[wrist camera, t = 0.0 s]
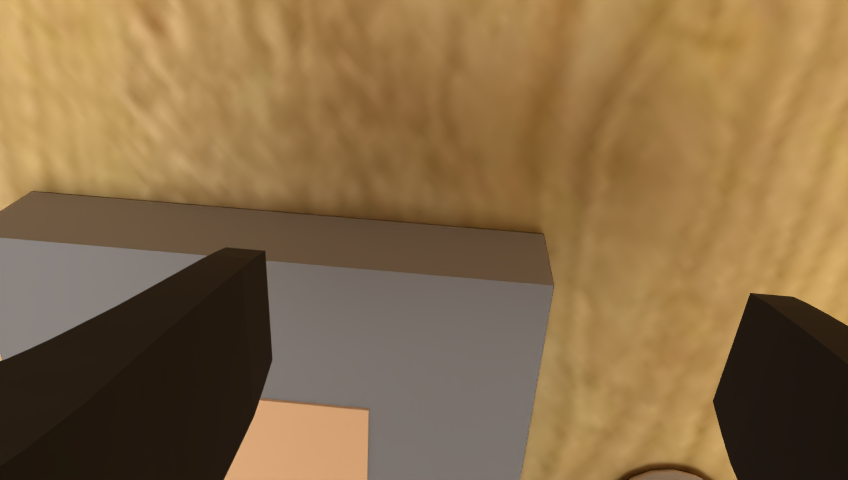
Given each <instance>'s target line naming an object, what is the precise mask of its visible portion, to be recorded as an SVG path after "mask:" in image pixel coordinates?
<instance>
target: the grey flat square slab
mask: <svg viewBox="0 0 848 480" xmlns="http://www.w3.org/2000/svg"><path fill="white" fill-rule="evenodd" d="M225 247H229V248H240V249H251V250H263V251H265V253H266V268H267V283H268V298H269V313H270V329H271V344H272V359H273V360H272V363H271V366H270V369H269V373H268V376H267V379H266V382H265V385H264V389H263V392H262V395H261V398H260V401H259V404H258V406H257V409H256V412H255V415H254V418H253V420H252V422H251V424H250V426H249V428H248V431H247V433H246V435H245V437H244V439H243V441H242V443H241V445H240V447H239V450H238V452H237V454H236V456H235V458H234V460H233V462H232V464H231V466H230V468H229V470H228V472H227V474H226V477H225V479H224V480H520V478H521V472H522V467H523V461H524V455H525V449H526V444H527V438H528V432H529V427H530V421H531V415H532V409H533V404H534V398H535V392H536V387H537V381H538V375H539V369H540V364H541V358H542V352H543V347H544V341H545V335H546V329H547V324H548V318H549V312H550V307H551V301H552V295H553V289H554V282H553V277H552V272H551V267H550V262H549V257H548V252H547V247H546V243H545V238H544V234H537V233H525V232H513V231H501V230H489V229H477V228H465V227H453V226H441V225H429V224H417V223H405V222H393V221H381V220H369V219H357V218H344V217H332V216H320V215H308V214H296V213H284V212H272V211H260V210H248V209H236V208H224V207H212V206H200V205H188V204H176V203H164V202H152V201H140V200H128V199H116V198H104V197H92V196H80V195H68V194H56V193H44V192H30V193H28V194H27V195H25V196H24V197H22V198H20V199H19V200H17V201H16V202H14V203H12V204H11V205H9V206H8V207H6V208H5V209H3V210H1V211H0V354H1V357H2V360H5V359H7V358H10V357H12V356H14V355H16V354H19V353H21V352H23V351H26V350H28V349H30V348H32V347H34V346H37V345H39V344H41V343H43V342H45V341H47V340H50V339H52V338H54V337H56V336H58V335H60V334H62V333H64V332H66V331H68V330H70V329H72V328H74V327H76V326H77V325H79V324H81V323H83V322H85V321H87V320H89V319H91V318H93V317H95V316H97V315H99V314H101V313H103V312H105V311H107V310H109V309H111V308H113V307H115V306H117V305H119V304H121V303H123V302H125V301H126V300H128V299H130V298H132V297H134V296H136V295H137V294H139V293H141V292H143V291H145V290H146V289H148V288H150V287H152V286H154V285H155V284H157V283H159V282H161V281H163V280H164V279H166V278H168V277H170V276H172V275H173V274H175V273H177V272H179V271H181V270H182V269H184V268H186V267H188V266H190V265H191V264H193V263H195V262H197V261H199V260H201V259H202V258H204V257H206V256H208V255H210V254H212V253H214V252H216V251H218V250H221V249H223V248H225Z"/></svg>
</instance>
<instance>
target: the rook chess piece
mask: <svg viewBox="0 0 848 480" xmlns="http://www.w3.org/2000/svg"><path fill="white" fill-rule="evenodd" d="M629 480H703V479H702V478H700V477H698V476H696V475H694V474H691V473H687V472H683V471H679V470H675V469H662V470H650V471H647V472H644V473H641V474H639V475H636V476H633V477H631V478H630V479H629Z"/></svg>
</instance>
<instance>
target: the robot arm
mask: <svg viewBox="0 0 848 480" xmlns="http://www.w3.org/2000/svg"><path fill="white" fill-rule="evenodd" d="M272 360H273V359H272V344H271V329H270V313H269V298H268V283H267V268H266V253H265V251H263V250H251V249H240V248H229V247H225V248H223V249H221V250H218V251H216V252H214V253H212V254H210V255H208V256H206V257H204V258H202V259H201V260H199V261H197V262H195V263H193V264H191V265H190V266H188V267H186V268H184V269H182V270H181V271H179V272H177V273H175V274H173V275H172V276H170V277H168V278H166V279H164V280H163V281H161V282H159V283H157V284H155V285H154V286H152V287H150V288H148V289H146V290H145V291H143V292H141V293H139V294H137V295H136V296H134V297H132V298H130V299H128V300H126V301H125V302H123V303H121V304H119V305H117V306H115V307H113V308H111V309H109V310H107V311H105V312H103V313H101V314H99V315H97V316H95V317H93V318H91V319H89V320H87V321H85V322H83V323H81V324H79V325H77V326H76V327H74V328H72V329H70V330H68V331H66V332H64V333H62V334H60V335H58V336H56V337H54V338H52V339H50V340H47V341H45V342H43V343H41V344H39V345H37V346H34V347H32V348H30V349H28V350H26V351H23V352H21V353H19V354H16V355H14V356H12V357H10V358H7V359H5V360H2V361H0V480H224V479H225V477H226V474H227V472H228V470H229V468H230V466H231V464H232V462H233V460H234V458H235V456H236V454H237V452H238V450H239V447H240V445H241V443H242V441H243V439H244V437H245V435H246V433H247V431H248V428H249V426H250V424H251V422H252V420H253V418H254V415H255V412H256V409H257V406H258V404H259V401H260V398H261V395H262V392H263V389H264V385H265V382H266V379H267V376H268V373H269V369H270V366H271V363H272ZM713 403H714V407H715V411H716V415H717V418H718V422H719V426H720V430H721V433H722V437H723V440H724V443H725V447H726V450H727V453H728V456H729V460H730V463H731V465H732V468H733V470H734V472H735V475H736V477H737V479H738V480H848V326H847V325H845V324H843V323H842V322H840V321H838V320H836V319H835V318H833V317H831V316H830V315H828V314H826V313H824V312H822V311H821V310H819V309H817V308H815V307H813V306H811V305H809V304H807V303H805V302H803V301H801V300H799V299H797V298H794V297H789V296H777V295H766V294H754V293H750V296H749V298H748V301H747V304H746V307H745V310H744V313H743V316H742V319H741V322H740V324H739V327H738V330H737V333H736V336H735V339H734V342H733V345H732V348H731V351H730V353H729V356H728V359H727V362H726V365H725V368H724V371H723V374H722V377H721V379H720V382H719V385H718V388H717V391H716V394H715V397H714V400H713Z"/></svg>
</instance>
